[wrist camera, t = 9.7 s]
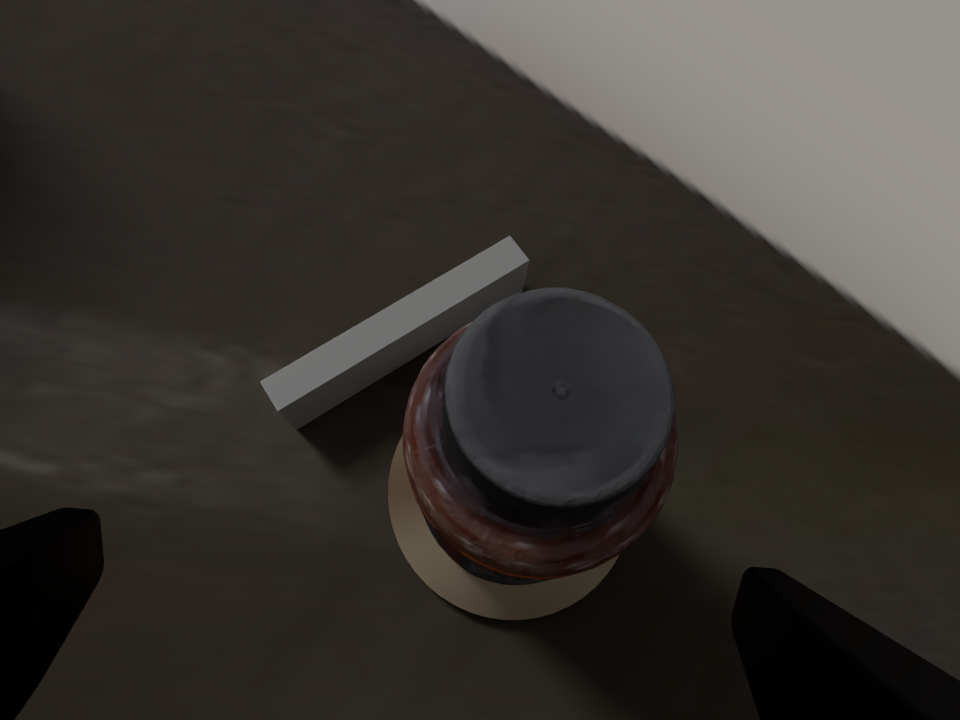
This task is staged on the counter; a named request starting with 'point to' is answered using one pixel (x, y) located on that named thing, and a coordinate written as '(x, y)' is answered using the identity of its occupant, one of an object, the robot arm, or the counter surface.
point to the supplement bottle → (541, 437)
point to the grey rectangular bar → (396, 334)
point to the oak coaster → (463, 585)
